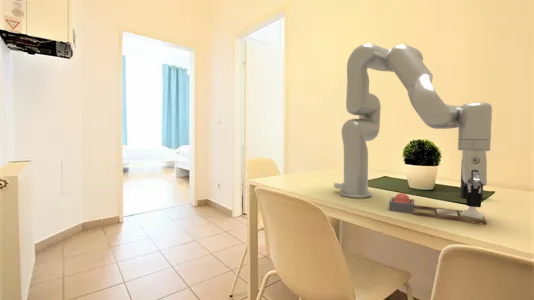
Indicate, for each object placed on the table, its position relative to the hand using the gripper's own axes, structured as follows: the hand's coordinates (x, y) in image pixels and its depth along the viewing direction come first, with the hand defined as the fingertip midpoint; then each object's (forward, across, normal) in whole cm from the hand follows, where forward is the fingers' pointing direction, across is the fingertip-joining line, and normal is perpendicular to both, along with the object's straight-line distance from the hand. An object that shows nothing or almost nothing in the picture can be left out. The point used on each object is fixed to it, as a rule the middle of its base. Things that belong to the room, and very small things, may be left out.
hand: (471, 202), depth 78 cm
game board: (+5, 0, +6) cm, 8 cm away
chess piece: (+4, 0, 0) cm, 4 cm away
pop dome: (+4, 0, +18) cm, 19 cm away
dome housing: (+5, 0, +18) cm, 19 cm away
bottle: (+5, +29, -3) cm, 30 cm away
